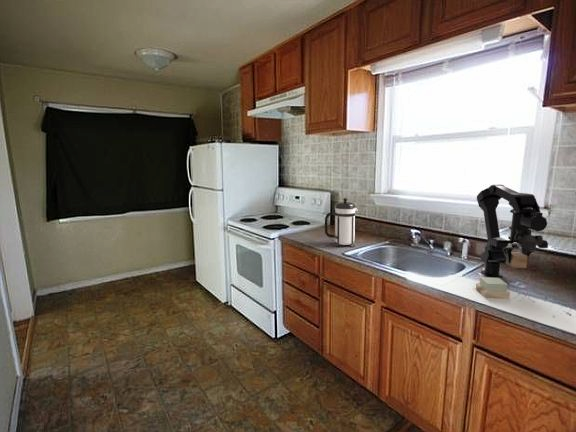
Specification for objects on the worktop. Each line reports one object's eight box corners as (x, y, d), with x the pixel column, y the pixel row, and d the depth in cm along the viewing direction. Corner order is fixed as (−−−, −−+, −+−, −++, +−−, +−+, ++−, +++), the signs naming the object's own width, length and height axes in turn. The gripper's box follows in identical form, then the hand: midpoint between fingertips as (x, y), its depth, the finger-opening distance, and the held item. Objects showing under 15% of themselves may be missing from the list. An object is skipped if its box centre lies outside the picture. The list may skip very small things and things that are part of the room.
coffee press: (343, 240, 212) (344, 195, 207) (361, 245, 199) (362, 198, 194) (323, 244, 203) (323, 198, 197) (341, 250, 190) (342, 200, 184)
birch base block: (475, 290, 131) (476, 283, 131) (497, 290, 130) (498, 283, 130) (485, 298, 123) (486, 291, 123) (509, 299, 122) (509, 292, 122)
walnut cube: (505, 263, 132) (507, 251, 131) (518, 263, 131) (520, 252, 130) (512, 267, 127) (513, 255, 126) (526, 267, 126) (527, 255, 125)
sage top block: (479, 284, 130) (480, 277, 129) (498, 284, 129) (499, 277, 128) (486, 291, 123) (487, 283, 123) (506, 291, 122) (507, 284, 121)
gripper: (505, 229, 119) (501, 269, 122) (560, 230, 117) (555, 270, 120) (491, 223, 130) (487, 260, 133) (540, 224, 128) (536, 261, 131)
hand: (516, 263), depth 129 cm, fingers closed on walnut cube, 5 cm apart
